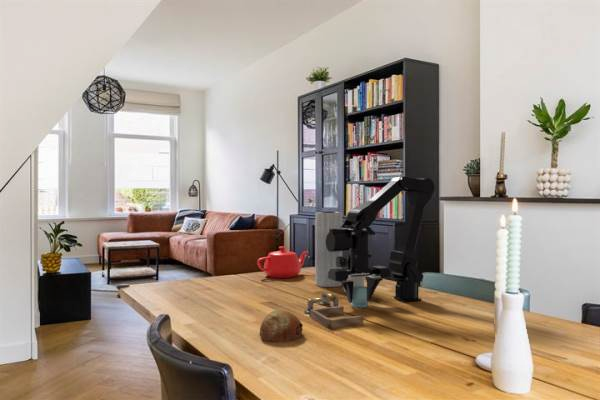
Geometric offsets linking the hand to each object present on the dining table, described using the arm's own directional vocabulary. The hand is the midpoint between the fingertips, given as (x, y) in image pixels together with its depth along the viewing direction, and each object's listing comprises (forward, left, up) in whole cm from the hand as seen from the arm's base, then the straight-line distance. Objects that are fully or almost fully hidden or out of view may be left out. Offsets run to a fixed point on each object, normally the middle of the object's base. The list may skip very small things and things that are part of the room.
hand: (359, 301), depth 138 cm
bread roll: (+32, +19, -2) cm, 37 cm away
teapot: (+4, -56, -1) cm, 56 cm away
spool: (0, 0, -1) cm, 1 cm away
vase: (-5, -32, -1) cm, 32 cm away
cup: (-6, -15, -1) cm, 16 cm away
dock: (+14, +12, -1) cm, 18 cm away
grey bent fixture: (+13, -2, -1) cm, 13 cm away
